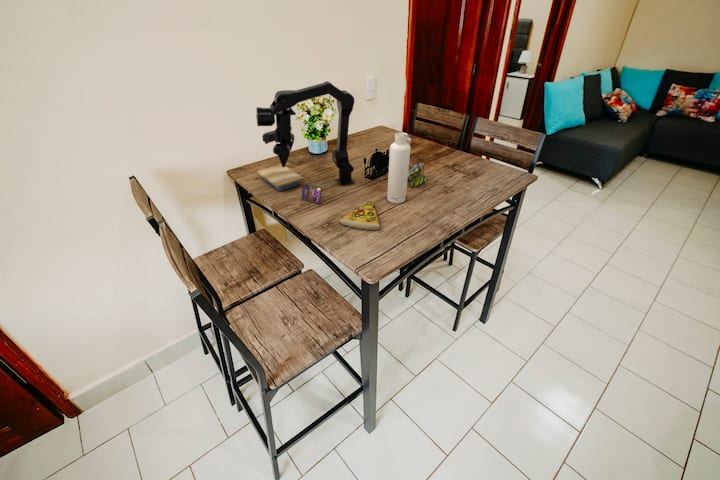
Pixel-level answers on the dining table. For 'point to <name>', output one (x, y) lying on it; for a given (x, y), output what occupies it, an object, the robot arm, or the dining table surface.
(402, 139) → the bottle
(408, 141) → the drinking glass
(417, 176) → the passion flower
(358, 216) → the pizza slice
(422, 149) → the dining table surface
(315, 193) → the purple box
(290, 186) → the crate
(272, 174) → the board
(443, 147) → the dining table surface
